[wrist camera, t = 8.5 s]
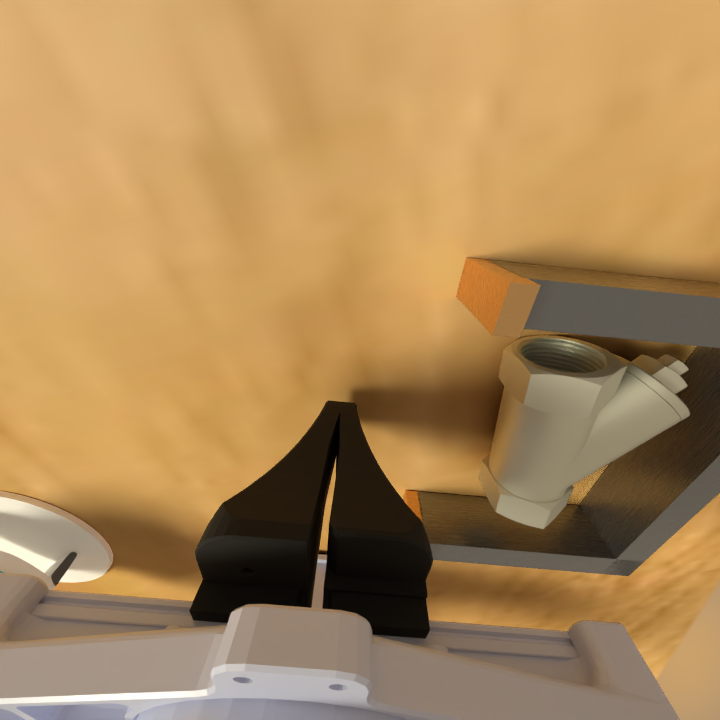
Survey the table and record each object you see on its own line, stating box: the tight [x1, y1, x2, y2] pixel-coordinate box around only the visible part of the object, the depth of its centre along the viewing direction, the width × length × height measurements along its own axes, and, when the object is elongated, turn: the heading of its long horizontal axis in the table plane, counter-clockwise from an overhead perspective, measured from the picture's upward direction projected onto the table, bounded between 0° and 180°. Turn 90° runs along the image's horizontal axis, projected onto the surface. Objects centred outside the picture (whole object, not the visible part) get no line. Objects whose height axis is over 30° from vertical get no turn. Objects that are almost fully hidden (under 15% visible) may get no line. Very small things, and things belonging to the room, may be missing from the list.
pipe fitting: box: [479, 335, 690, 529], centre depth 13 cm, size 8×4×7 cm
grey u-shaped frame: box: [403, 258, 720, 576], centre depth 13 cm, size 15×12×4 cm
